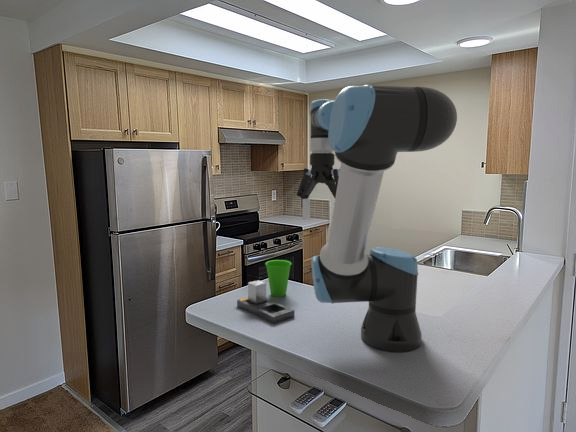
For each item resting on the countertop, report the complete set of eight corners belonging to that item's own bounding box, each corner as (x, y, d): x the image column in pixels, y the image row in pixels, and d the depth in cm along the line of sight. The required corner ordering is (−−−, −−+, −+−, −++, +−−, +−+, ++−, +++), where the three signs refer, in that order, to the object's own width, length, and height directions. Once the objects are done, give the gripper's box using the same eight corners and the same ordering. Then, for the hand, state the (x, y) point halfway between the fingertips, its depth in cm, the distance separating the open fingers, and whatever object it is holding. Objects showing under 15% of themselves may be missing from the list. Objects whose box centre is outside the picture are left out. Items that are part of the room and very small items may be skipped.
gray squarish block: (266, 307, 123) (266, 283, 122) (256, 310, 120) (255, 285, 119) (258, 304, 126) (258, 280, 124) (248, 307, 123) (248, 282, 122)
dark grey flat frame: (294, 316, 116) (294, 309, 115) (273, 323, 110) (273, 316, 110) (257, 300, 129) (257, 294, 129) (237, 306, 124) (237, 299, 123)
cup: (288, 299, 130) (288, 267, 128) (262, 297, 131) (262, 265, 130) (293, 291, 138) (293, 260, 137) (268, 289, 140) (268, 259, 139)
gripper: (362, 152, 114) (360, 224, 117) (302, 153, 132) (302, 215, 135) (345, 151, 109) (343, 227, 112) (286, 153, 127) (286, 217, 130)
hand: (321, 221), depth 123 cm, fingers open, 13 cm apart
